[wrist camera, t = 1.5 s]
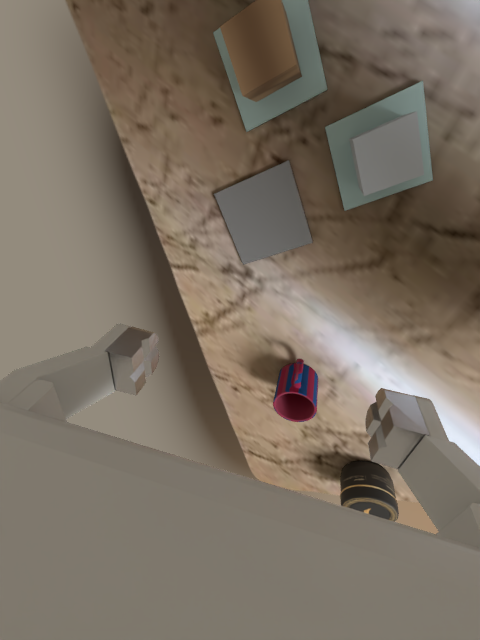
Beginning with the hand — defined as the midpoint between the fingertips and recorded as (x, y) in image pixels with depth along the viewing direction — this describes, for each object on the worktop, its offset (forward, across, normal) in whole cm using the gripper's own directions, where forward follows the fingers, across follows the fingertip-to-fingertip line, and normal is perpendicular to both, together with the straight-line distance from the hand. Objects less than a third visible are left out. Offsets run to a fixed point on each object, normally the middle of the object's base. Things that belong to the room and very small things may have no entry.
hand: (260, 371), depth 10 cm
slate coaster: (+31, +5, +2) cm, 31 cm away
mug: (+31, -6, +26) cm, 41 cm away
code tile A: (+30, +6, -13) cm, 34 cm away
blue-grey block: (+30, -6, -7) cm, 31 cm away
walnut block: (+30, +6, -13) cm, 33 cm away
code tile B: (+30, -6, -7) cm, 32 cm away
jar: (+31, -24, +49) cm, 63 cm away
